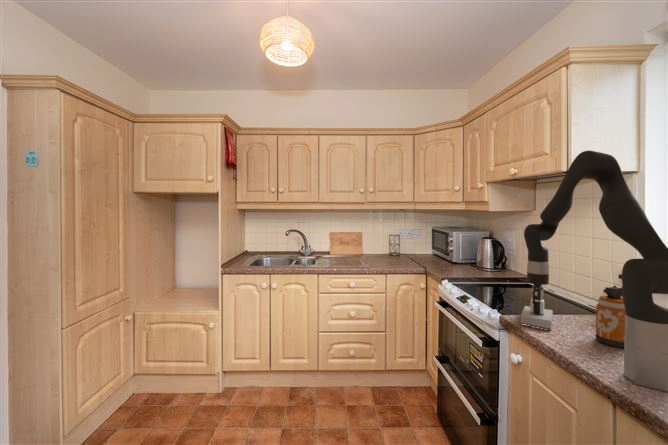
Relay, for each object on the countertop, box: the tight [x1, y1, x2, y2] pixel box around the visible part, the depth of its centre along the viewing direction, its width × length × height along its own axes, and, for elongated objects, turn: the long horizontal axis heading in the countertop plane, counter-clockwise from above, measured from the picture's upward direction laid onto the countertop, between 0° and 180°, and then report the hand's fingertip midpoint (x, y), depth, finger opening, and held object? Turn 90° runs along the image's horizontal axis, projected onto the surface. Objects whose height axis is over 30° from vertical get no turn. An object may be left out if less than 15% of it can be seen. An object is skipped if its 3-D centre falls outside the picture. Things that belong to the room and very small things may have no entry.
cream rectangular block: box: [529, 297, 545, 315], centre depth 124 cm, size 4×4×8 cm
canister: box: [595, 285, 625, 348], centre depth 104 cm, size 9×11×20 cm
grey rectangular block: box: [520, 305, 554, 331], centre depth 124 cm, size 16×10×4 cm, turn 142°
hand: (537, 312), depth 124 cm, fingers closed on cream rectangular block, 4 cm apart
